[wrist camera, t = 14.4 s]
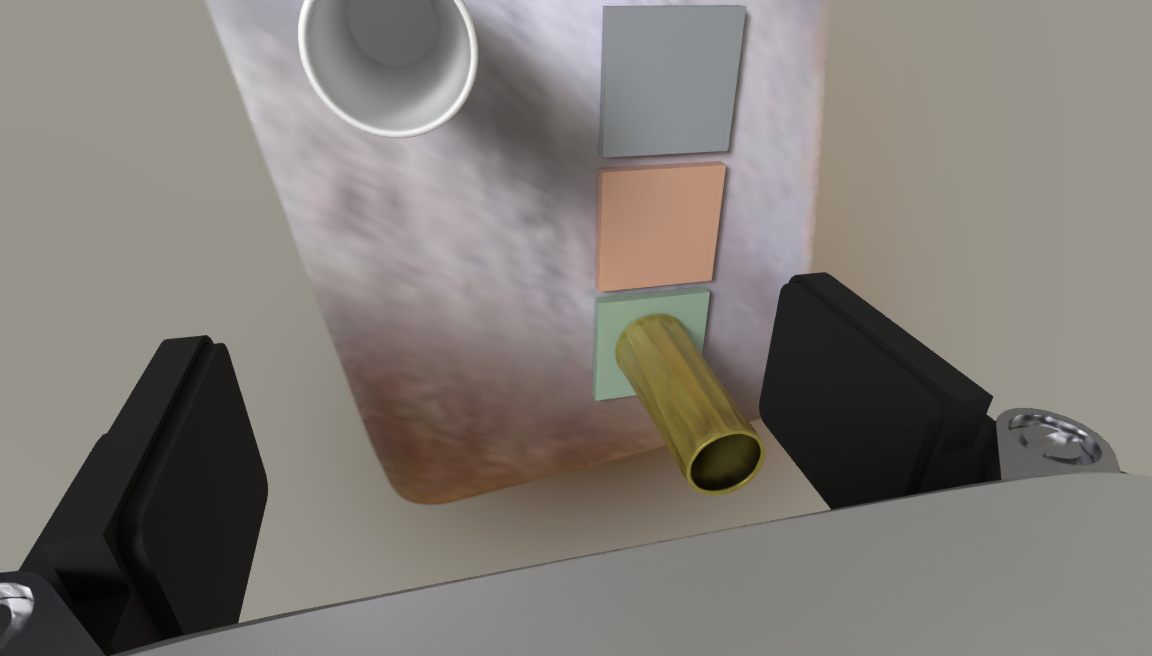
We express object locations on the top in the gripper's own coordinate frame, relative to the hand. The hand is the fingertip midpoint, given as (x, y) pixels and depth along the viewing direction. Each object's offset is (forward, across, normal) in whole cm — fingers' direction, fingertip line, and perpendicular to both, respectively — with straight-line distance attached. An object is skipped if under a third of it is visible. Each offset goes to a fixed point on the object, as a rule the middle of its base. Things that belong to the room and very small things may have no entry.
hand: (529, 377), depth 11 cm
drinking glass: (+34, +2, -3) cm, 34 cm away
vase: (+32, -15, +21) cm, 41 cm away
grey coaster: (+33, -15, +1) cm, 37 cm away
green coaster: (+33, -15, +21) cm, 42 cm away
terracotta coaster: (+33, -15, +11) cm, 38 cm away
